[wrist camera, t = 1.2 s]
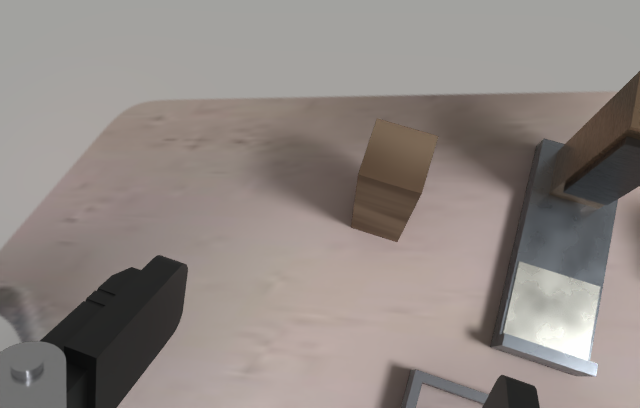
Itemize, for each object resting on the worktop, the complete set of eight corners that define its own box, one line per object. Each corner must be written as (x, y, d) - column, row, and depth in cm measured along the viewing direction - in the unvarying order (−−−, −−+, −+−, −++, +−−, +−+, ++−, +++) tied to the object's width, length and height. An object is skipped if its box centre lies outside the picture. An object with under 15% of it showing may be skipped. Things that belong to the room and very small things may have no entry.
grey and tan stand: (536, 146, 41) (620, 53, 29) (614, 168, 40) (733, 82, 28) (490, 347, 36) (567, 334, 24) (576, 376, 36) (699, 377, 24)
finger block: (367, 178, 40) (379, 111, 30) (412, 192, 40) (440, 128, 29) (350, 227, 39) (357, 174, 29) (397, 242, 39) (421, 193, 28)
